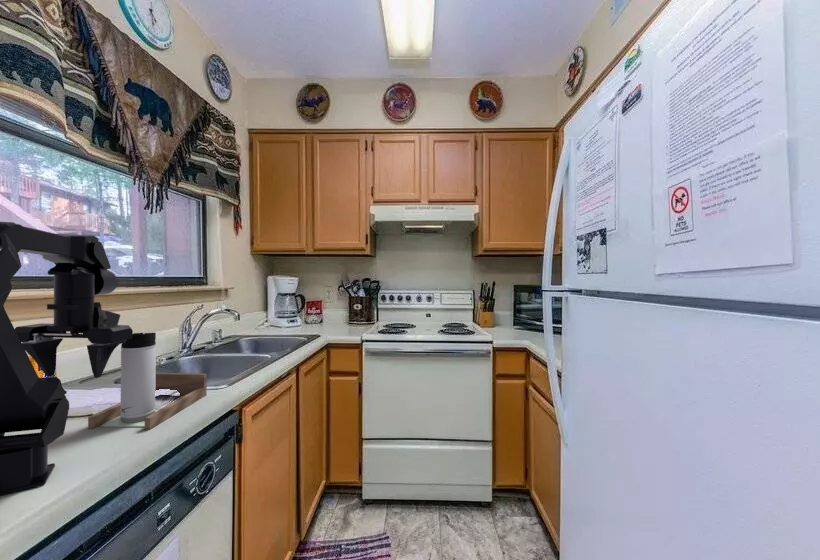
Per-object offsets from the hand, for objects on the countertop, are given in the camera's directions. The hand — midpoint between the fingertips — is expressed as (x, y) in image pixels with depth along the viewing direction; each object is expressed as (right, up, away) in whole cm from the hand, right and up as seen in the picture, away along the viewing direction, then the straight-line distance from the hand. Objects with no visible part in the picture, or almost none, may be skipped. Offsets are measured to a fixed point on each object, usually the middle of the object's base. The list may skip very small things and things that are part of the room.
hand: (74, 376), depth 67 cm
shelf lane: (+4, -13, +16) cm, 21 cm away
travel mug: (+4, -13, +11) cm, 17 cm away
